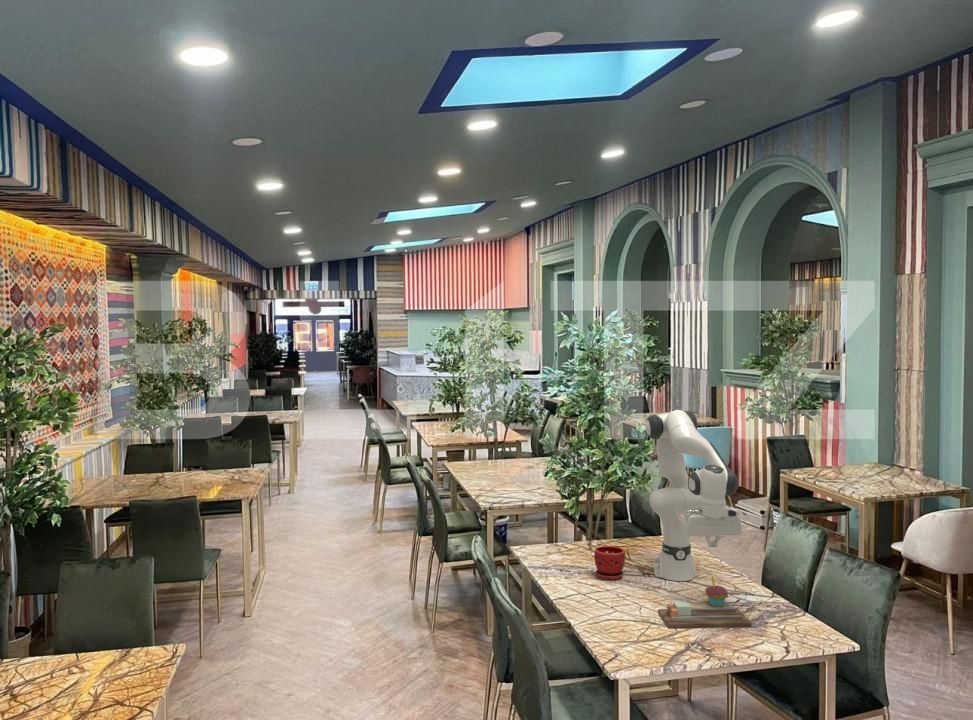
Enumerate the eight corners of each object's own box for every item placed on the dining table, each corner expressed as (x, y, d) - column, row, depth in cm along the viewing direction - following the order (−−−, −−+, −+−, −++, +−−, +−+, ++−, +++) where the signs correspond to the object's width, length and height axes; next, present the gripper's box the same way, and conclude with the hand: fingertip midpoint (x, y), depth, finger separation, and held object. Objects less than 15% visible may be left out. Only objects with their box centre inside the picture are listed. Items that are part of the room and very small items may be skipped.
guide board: (658, 613, 268) (658, 600, 268) (737, 612, 269) (737, 598, 269) (668, 628, 255) (668, 614, 254) (751, 627, 255) (751, 613, 255)
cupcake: (713, 609, 272) (713, 578, 271) (700, 601, 280) (700, 571, 280) (732, 607, 274) (732, 576, 274) (719, 599, 282) (720, 569, 282)
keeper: (673, 613, 264) (673, 601, 264) (686, 613, 264) (686, 601, 264) (677, 619, 259) (677, 606, 259) (691, 618, 259) (691, 606, 259)
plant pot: (627, 581, 304) (627, 553, 303) (596, 581, 304) (596, 553, 303) (622, 571, 317) (622, 544, 316) (592, 571, 317) (592, 544, 317)
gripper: (687, 512, 260) (687, 549, 261) (743, 512, 260) (742, 549, 261) (682, 507, 267) (682, 544, 267) (737, 507, 267) (736, 544, 268)
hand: (712, 546), depth 264 cm, fingers closed
